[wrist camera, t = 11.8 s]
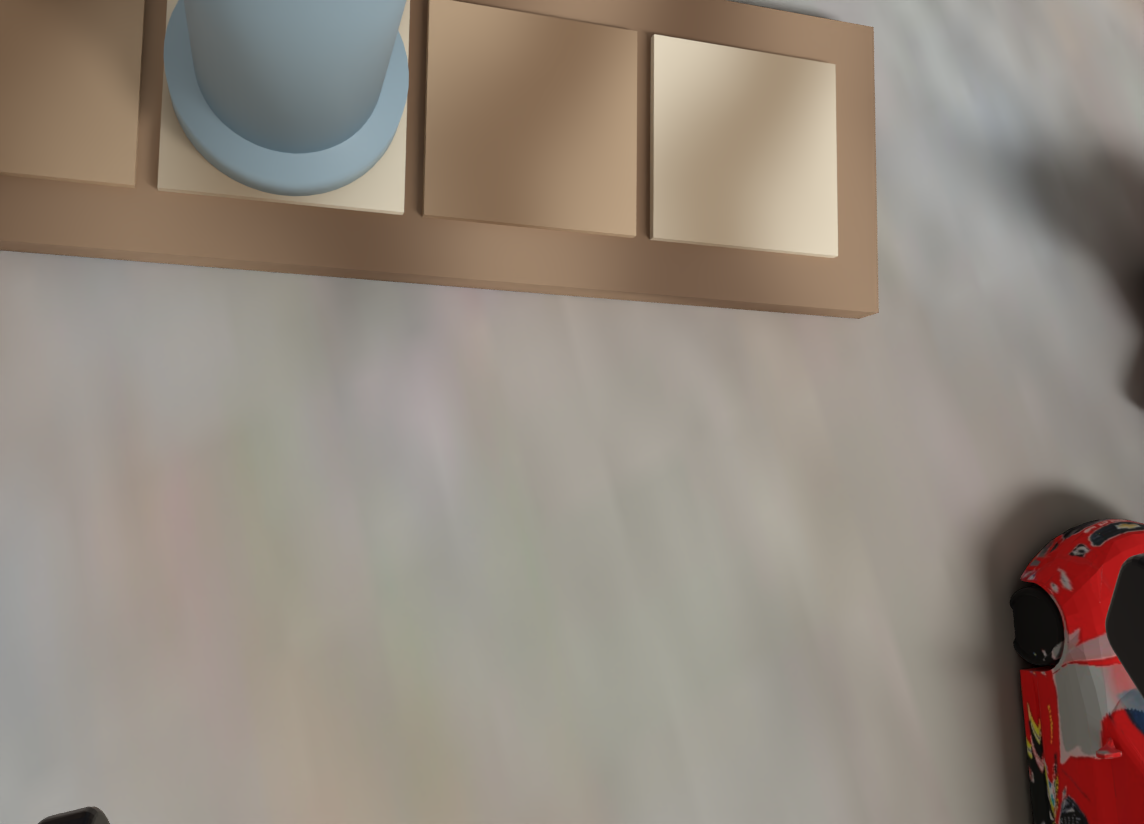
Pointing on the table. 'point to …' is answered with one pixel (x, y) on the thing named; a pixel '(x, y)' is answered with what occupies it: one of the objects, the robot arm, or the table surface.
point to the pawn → (288, 87)
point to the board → (484, 155)
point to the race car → (1079, 681)
